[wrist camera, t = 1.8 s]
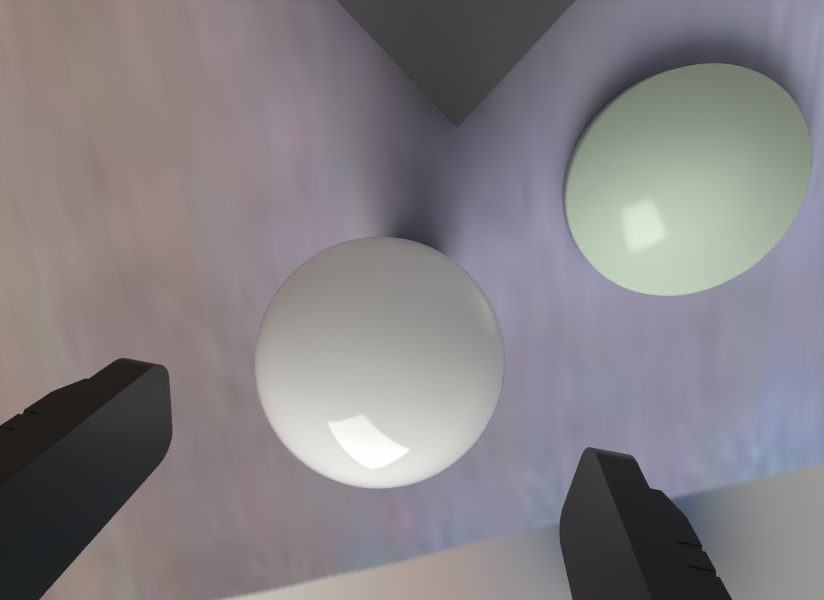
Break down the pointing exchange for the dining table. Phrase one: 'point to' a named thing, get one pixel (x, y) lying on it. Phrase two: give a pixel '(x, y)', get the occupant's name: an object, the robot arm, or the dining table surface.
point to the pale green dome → (687, 178)
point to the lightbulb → (379, 362)
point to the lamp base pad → (456, 42)
